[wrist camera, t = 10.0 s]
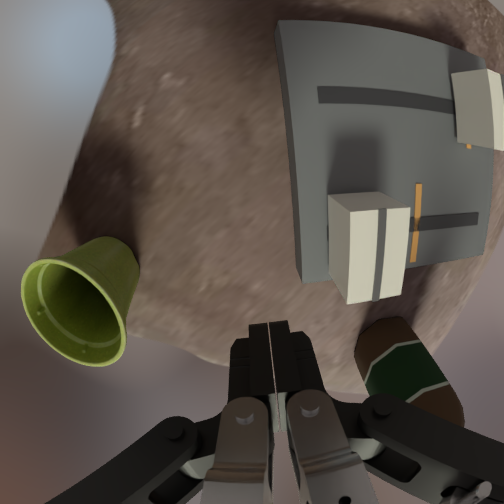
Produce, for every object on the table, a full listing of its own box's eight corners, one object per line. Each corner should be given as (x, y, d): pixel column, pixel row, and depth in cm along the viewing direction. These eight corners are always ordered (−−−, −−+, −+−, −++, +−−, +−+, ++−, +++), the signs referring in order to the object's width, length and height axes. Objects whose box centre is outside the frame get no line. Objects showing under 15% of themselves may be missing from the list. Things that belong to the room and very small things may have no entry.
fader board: (273, 33, 17) (278, 19, 14) (465, 61, 17) (484, 58, 14) (296, 267, 25) (302, 284, 22) (466, 243, 25) (483, 255, 22)
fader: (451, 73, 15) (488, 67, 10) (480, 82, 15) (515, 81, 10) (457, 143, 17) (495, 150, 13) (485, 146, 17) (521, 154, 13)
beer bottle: (376, 306, 27) (489, 514, 5) (422, 321, 28) (524, 482, 6) (339, 359, 30) (401, 555, 8) (386, 368, 31) (454, 527, 9)
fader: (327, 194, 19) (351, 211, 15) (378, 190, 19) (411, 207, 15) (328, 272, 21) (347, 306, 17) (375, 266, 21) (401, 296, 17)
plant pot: (143, 321, 27) (116, 383, 19) (66, 284, 25) (23, 332, 17) (170, 244, 24) (138, 298, 16) (80, 203, 22) (21, 236, 14)
